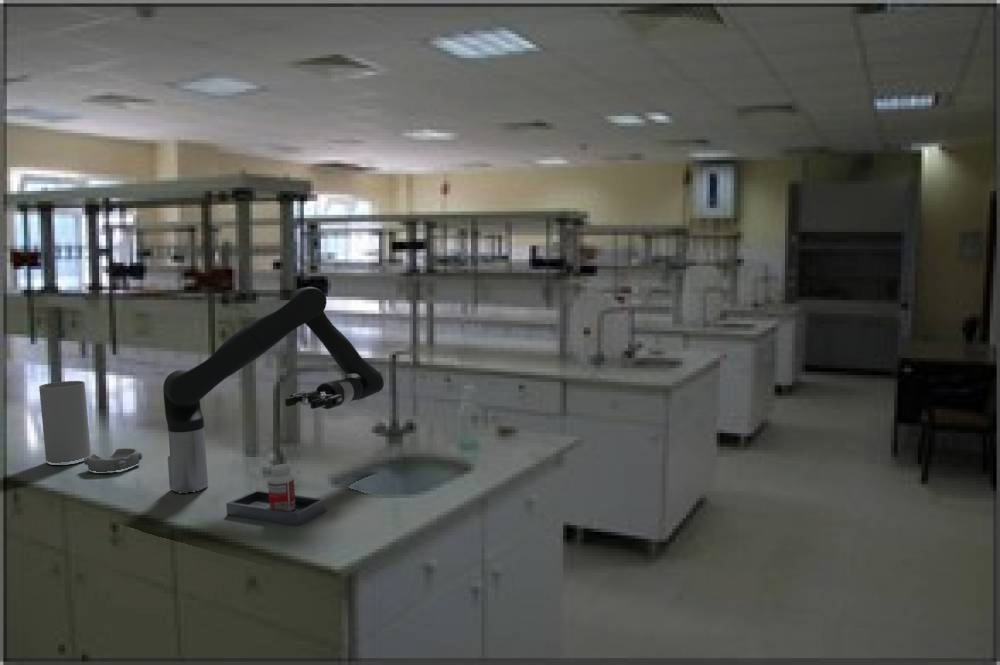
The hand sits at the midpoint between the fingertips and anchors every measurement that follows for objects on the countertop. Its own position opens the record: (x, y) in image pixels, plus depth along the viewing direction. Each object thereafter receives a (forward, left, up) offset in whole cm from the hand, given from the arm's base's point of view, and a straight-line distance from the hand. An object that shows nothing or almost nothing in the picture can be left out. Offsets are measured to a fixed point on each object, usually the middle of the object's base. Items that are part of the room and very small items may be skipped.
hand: (298, 403), depth 203 cm
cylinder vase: (-91, -2, -24) cm, 94 cm away
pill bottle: (+7, -17, -23) cm, 30 cm away
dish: (-69, -3, -24) cm, 73 cm away
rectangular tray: (+5, -17, -24) cm, 30 cm away
